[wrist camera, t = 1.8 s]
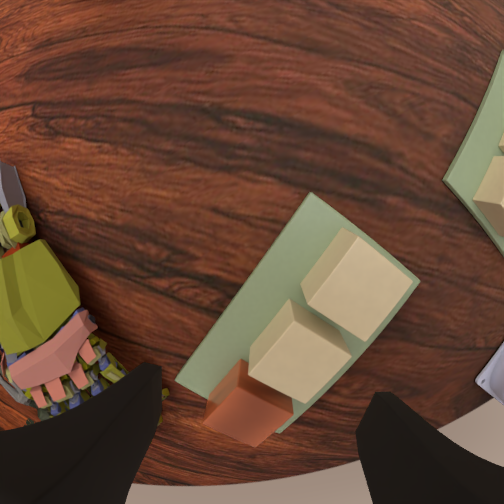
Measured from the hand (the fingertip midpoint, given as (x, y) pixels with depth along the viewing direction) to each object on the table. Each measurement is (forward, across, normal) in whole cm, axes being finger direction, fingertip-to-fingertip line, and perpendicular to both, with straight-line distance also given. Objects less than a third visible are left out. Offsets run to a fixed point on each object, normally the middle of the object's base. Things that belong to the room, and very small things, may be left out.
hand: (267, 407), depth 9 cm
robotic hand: (+9, +15, +4) cm, 18 cm away
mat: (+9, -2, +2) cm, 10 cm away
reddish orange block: (+8, 0, +6) cm, 11 cm away
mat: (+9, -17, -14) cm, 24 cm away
